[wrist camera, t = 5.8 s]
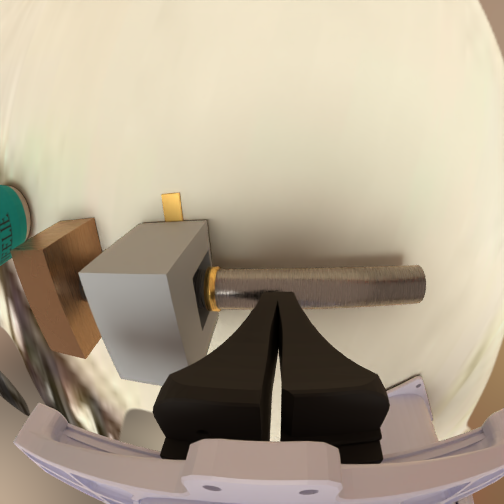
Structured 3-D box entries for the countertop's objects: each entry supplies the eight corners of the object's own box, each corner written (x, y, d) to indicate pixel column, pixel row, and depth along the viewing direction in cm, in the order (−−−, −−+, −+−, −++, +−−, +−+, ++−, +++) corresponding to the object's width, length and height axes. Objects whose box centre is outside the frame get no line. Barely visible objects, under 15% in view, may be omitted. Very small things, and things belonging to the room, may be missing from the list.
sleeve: (206, 220, 15) (166, 274, 9) (218, 315, 17) (195, 389, 12) (139, 223, 15) (78, 272, 10) (159, 312, 18) (121, 378, 12)
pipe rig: (412, 190, 13) (462, 218, 9) (389, 326, 17) (413, 381, 12) (57, 207, 16) (5, 234, 11) (90, 320, 19) (57, 361, 15)
